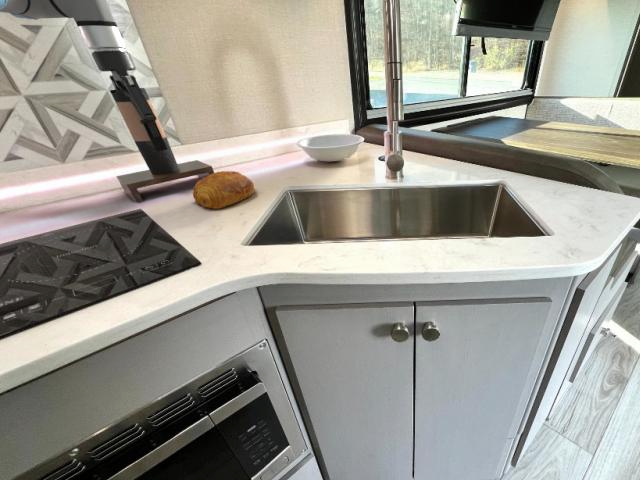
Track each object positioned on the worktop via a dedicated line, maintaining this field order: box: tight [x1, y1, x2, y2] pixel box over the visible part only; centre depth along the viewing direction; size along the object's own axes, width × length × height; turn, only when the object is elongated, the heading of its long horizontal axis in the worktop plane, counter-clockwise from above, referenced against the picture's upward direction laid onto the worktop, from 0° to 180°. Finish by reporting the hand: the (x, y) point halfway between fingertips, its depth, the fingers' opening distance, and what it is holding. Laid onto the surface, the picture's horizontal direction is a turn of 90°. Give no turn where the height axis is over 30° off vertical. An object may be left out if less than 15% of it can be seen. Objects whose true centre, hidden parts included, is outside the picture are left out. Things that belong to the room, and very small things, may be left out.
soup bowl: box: [296, 133, 365, 162], centre depth 115 cm, size 24×24×7 cm
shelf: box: [116, 159, 215, 204], centre depth 94 cm, size 22×12×5 cm, turn 137°
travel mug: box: [109, 87, 179, 174], centre depth 86 cm, size 8×8×20 cm
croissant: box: [192, 170, 255, 210], centre depth 84 cm, size 14×16×8 cm
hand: (154, 147), depth 88 cm, fingers open, 13 cm apart
